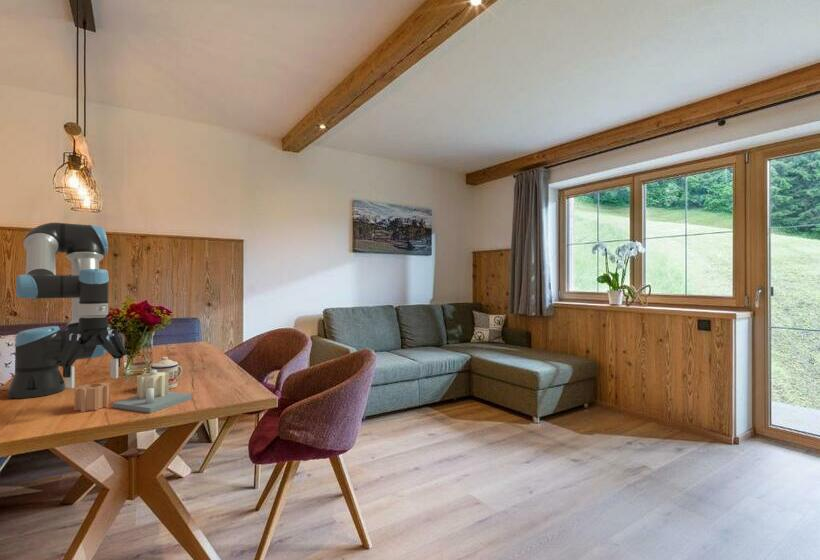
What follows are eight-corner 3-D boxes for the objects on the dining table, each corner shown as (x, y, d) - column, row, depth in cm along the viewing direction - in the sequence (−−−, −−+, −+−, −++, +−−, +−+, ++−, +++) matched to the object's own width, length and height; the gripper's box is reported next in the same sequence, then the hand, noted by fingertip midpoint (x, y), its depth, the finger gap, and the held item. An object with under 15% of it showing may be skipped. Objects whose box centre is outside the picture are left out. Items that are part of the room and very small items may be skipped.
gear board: (111, 407, 130) (111, 376, 130) (155, 393, 145) (156, 366, 145) (150, 413, 125) (150, 381, 125) (192, 398, 141) (192, 370, 141)
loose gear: (68, 410, 127) (68, 387, 127) (97, 401, 135) (97, 381, 135) (88, 413, 124) (88, 390, 124) (116, 404, 133) (116, 383, 133)
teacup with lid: (162, 391, 148) (162, 360, 148) (144, 389, 151) (144, 358, 151) (189, 384, 160) (190, 354, 159) (172, 381, 163) (173, 352, 162)
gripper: (58, 320, 117) (57, 393, 116) (138, 314, 141) (138, 374, 140) (40, 319, 119) (39, 391, 119) (122, 313, 143) (122, 373, 143)
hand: (93, 382), depth 129 cm, fingers open, 13 cm apart
